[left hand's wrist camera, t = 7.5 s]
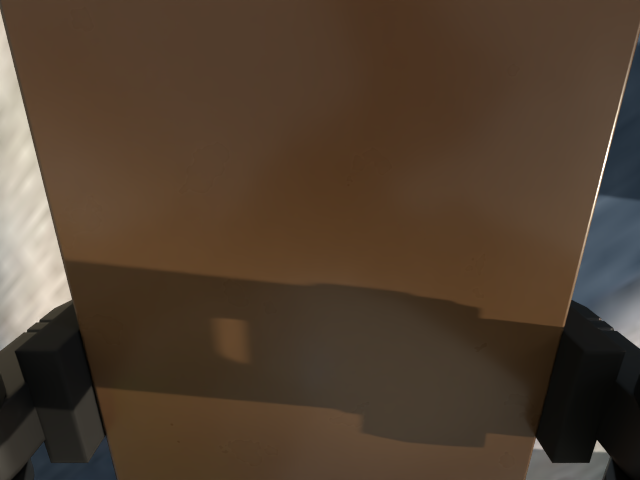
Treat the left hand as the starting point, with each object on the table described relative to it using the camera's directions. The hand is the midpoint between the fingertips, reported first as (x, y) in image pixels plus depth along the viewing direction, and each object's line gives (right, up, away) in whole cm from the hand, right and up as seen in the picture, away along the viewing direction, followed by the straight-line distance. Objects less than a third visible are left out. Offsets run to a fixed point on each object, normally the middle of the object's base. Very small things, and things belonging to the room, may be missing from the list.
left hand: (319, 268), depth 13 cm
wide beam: (0, -30, +12) cm, 32 cm away
